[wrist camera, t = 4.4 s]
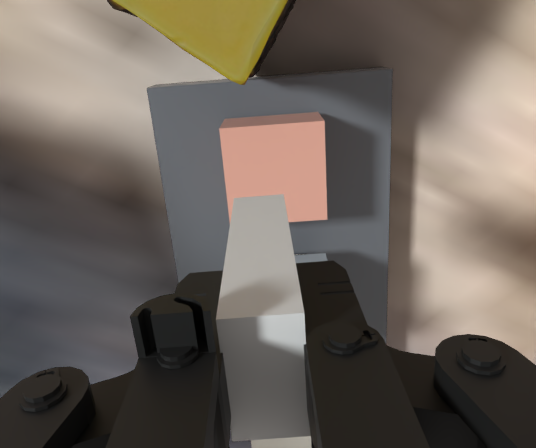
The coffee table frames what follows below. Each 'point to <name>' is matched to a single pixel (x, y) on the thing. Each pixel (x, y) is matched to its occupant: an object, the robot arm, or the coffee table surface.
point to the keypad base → (337, 169)
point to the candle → (216, 29)
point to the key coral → (277, 161)
